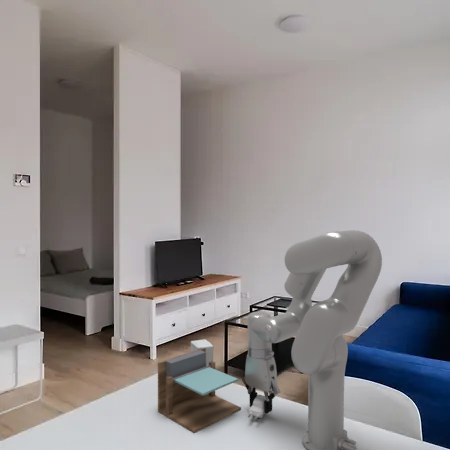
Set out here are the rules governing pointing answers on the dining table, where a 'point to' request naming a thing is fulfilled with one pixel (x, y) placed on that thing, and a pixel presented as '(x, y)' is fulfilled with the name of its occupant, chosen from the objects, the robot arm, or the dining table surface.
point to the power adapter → (257, 407)
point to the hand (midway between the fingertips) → (260, 408)
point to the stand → (190, 402)
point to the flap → (197, 373)
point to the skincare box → (200, 345)
